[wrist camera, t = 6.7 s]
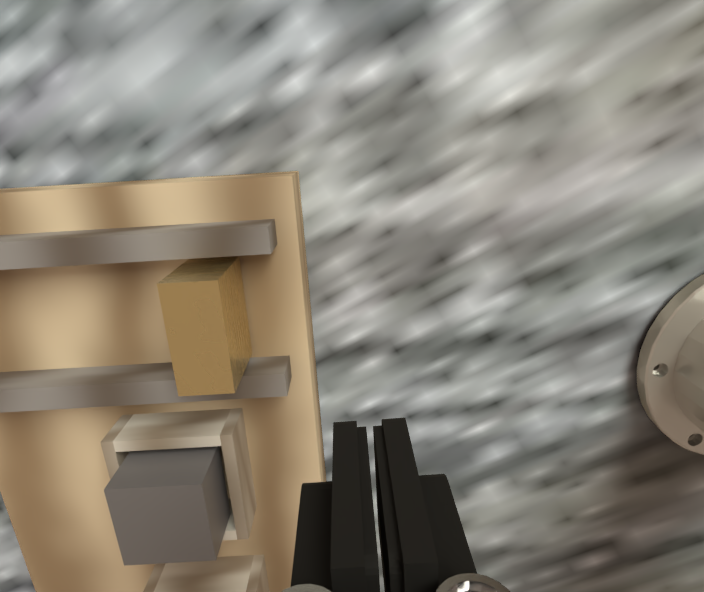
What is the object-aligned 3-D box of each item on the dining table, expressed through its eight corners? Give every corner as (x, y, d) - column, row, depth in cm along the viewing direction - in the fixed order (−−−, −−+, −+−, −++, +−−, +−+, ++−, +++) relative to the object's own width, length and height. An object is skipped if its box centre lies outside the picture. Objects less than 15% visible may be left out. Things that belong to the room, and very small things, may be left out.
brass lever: (239, 256, 23) (217, 280, 19) (252, 352, 24) (234, 393, 20) (188, 258, 23) (156, 283, 19) (204, 355, 24) (178, 396, 20)
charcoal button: (218, 443, 24) (201, 484, 21) (230, 513, 26) (216, 560, 23) (131, 448, 24) (103, 489, 21) (148, 517, 26) (124, 565, 23)
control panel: (298, 170, 25) (285, 180, 19) (337, 606, 34) (336, 689, 29) (-52, 191, 25) (-156, 206, 20) (85, 620, 34) (39, 705, 29)
